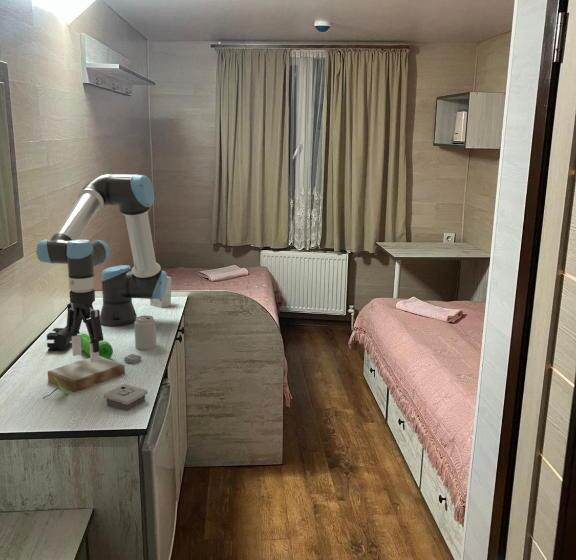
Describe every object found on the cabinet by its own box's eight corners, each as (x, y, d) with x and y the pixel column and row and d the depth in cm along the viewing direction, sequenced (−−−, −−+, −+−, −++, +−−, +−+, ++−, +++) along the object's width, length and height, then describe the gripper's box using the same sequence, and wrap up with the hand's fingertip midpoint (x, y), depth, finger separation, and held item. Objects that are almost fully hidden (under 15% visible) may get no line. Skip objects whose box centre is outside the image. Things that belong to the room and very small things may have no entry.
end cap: (66, 352, 225) (65, 334, 223) (47, 351, 225) (45, 333, 223) (75, 343, 234) (74, 325, 233) (56, 342, 234) (55, 325, 233)
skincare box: (150, 307, 284) (149, 275, 281) (160, 304, 289) (159, 273, 285) (162, 310, 279) (161, 278, 276) (172, 307, 284) (171, 276, 280)
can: (160, 348, 230) (159, 317, 227) (143, 353, 224) (141, 321, 222) (148, 343, 235) (147, 313, 232) (131, 348, 229) (130, 317, 227)
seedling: (56, 413, 185) (74, 398, 187) (41, 399, 180) (60, 384, 182) (46, 399, 190) (64, 385, 192) (32, 386, 184) (50, 371, 186)
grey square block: (131, 360, 218) (131, 354, 217) (141, 362, 216) (141, 355, 216) (124, 364, 214) (124, 357, 214) (134, 366, 213) (133, 359, 212)
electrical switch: (123, 383, 187) (147, 384, 183) (126, 400, 188) (150, 401, 184) (101, 394, 179) (125, 396, 175) (104, 411, 180) (128, 413, 175)
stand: (98, 365, 212) (98, 354, 211) (124, 375, 204) (124, 364, 203) (48, 381, 198) (47, 370, 197) (74, 393, 189) (73, 381, 188)
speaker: (76, 350, 226) (75, 331, 225) (96, 347, 231) (94, 327, 229) (94, 365, 213) (93, 344, 211) (114, 360, 217) (113, 340, 215)
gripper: (51, 286, 198) (56, 353, 203) (92, 297, 185) (96, 369, 190) (72, 282, 203) (76, 347, 208) (113, 293, 191) (116, 362, 196)
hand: (85, 357), depth 199 cm, fingers open, 9 cm apart
